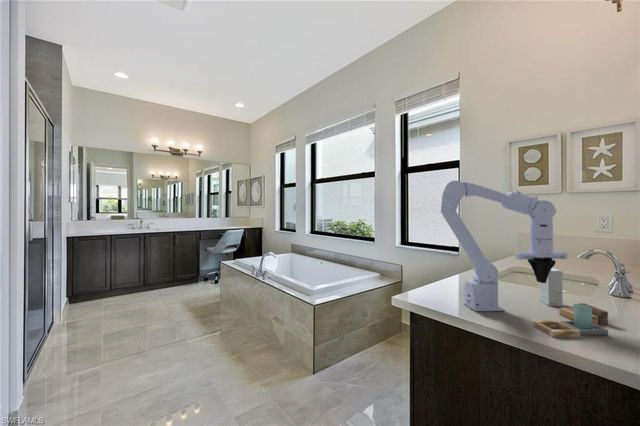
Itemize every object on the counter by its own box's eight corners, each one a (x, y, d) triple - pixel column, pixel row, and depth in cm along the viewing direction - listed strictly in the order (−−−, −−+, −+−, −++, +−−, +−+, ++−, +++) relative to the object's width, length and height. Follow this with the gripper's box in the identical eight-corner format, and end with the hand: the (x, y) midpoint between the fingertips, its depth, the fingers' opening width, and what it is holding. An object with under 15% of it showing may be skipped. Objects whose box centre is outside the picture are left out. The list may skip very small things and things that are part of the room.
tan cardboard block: (580, 325, 79) (580, 316, 79) (559, 316, 86) (559, 308, 86) (598, 325, 79) (598, 316, 79) (575, 315, 86) (575, 307, 86)
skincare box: (563, 306, 93) (563, 271, 93) (548, 306, 94) (548, 270, 94) (552, 300, 99) (551, 267, 99) (538, 300, 100) (538, 266, 100)
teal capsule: (581, 331, 73) (580, 308, 73) (570, 325, 77) (569, 304, 77) (596, 331, 73) (595, 308, 73) (585, 325, 76) (584, 304, 76)
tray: (580, 336, 72) (580, 330, 72) (560, 326, 78) (560, 321, 78) (608, 335, 72) (608, 330, 72) (586, 326, 78) (586, 320, 78)
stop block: (600, 324, 79) (600, 312, 79) (578, 314, 86) (578, 303, 86) (607, 324, 79) (607, 311, 79) (584, 314, 86) (584, 303, 86)
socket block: (552, 337, 72) (552, 331, 72) (532, 325, 79) (532, 320, 79) (580, 337, 72) (580, 331, 72) (557, 325, 79) (557, 320, 79)
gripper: (526, 240, 83) (527, 285, 83) (576, 239, 83) (576, 285, 83) (511, 238, 90) (511, 279, 91) (556, 237, 90) (556, 279, 90)
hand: (541, 282), depth 87 cm, fingers closed
